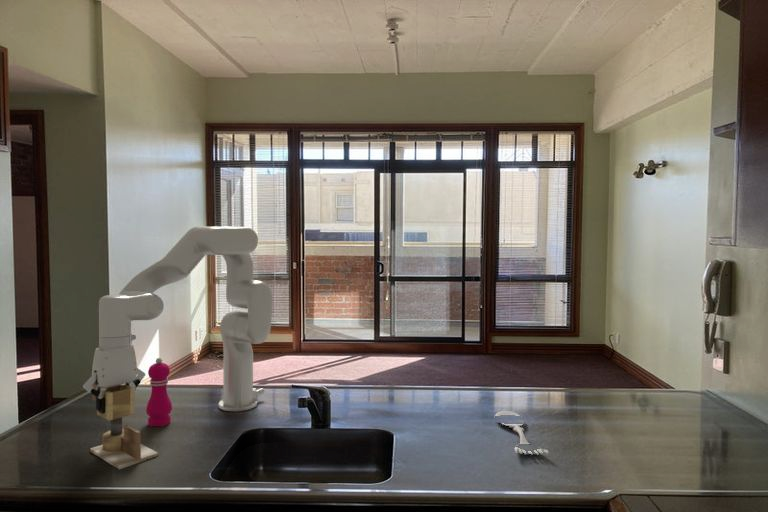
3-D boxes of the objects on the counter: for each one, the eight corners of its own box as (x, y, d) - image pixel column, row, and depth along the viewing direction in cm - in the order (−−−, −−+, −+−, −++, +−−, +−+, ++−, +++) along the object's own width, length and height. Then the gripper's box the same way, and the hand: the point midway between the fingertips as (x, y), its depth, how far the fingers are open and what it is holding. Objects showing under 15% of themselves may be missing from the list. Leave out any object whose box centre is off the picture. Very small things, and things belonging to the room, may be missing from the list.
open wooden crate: (81, 406, 145) (80, 381, 145) (105, 400, 150) (105, 376, 150) (108, 420, 135) (108, 393, 135) (134, 413, 140) (134, 388, 140)
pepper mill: (162, 428, 155) (162, 361, 154) (141, 426, 156) (140, 360, 155) (177, 419, 162) (176, 355, 161) (156, 417, 164) (155, 354, 162)
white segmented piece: (515, 462, 138) (515, 449, 137) (491, 418, 170) (492, 407, 169) (549, 463, 138) (550, 450, 137) (519, 418, 170) (520, 408, 169)
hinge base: (90, 451, 139) (89, 413, 138) (127, 439, 147) (127, 403, 146) (119, 469, 129) (118, 428, 128) (158, 455, 137) (157, 417, 136)
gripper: (140, 335, 148) (140, 397, 149) (73, 344, 134) (74, 413, 135) (154, 338, 143) (154, 403, 144) (86, 349, 130) (87, 420, 130)
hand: (115, 407), depth 140 cm, fingers closed on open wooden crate, 6 cm apart
